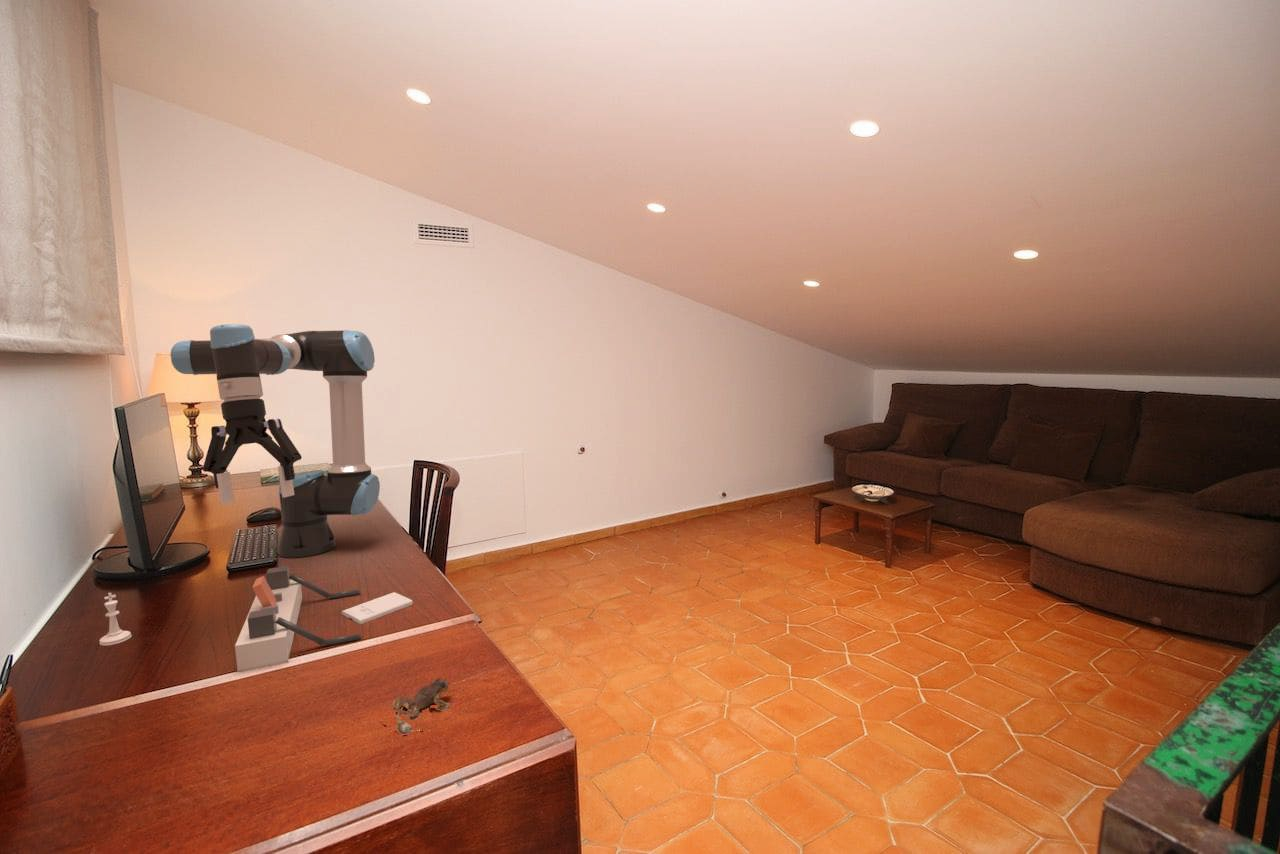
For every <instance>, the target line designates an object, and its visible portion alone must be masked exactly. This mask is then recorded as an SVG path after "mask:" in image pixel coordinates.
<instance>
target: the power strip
mask: <svg viewBox="0 0 1280 854" xmlns="http://www.w3.org/2000/svg"><path fill="white" fill-rule="evenodd" d="M289 568H290V567H289V565H286V566H280V567H279V566H278V567H273V568H272V567H271V568H268V569H267V571H266V581H267V583H268V585H269V586H270V588H271V590H272V592H273V594H274V596H275V598H276V603H275V605H273V606H267V607H262V605H261V603H260V601H259V599H258V597H257V595H256V594H255V596H254V597H255V598H254V600H253V601H252V604H251V607H250V609H249V611H248V613H247V615H246V619H245V622H244V624H243V626H242V628H241V630H240V633H239V635H238V638H237V641H236V642H235V644H234V653H235V660H236V670H237V672H243V671H248V670H252V669H258V668H262V667H266V666H271V665H277V664H282V663H287V662H289V660H290V654H291V650H292V645H293V641H294V637H295V636H294V635H295V634H297V635H299V636H302V637H304V638H306V639H307V640H310V641H311V642H313V643H316V644H318V645H320V646H323V645H324V647H327V646H333V645H338V644H343V643H348V642H353V641H358V640H360V639H361V638H362V634H361V633H353V634H348V635H344V636H343V635H342V636H339V637H332V638H328V639H325V638H323V637H320V636H319V635H317V634H315V633H313V632H311V631H309V630H306V629H305V628H303V627H300V626H299V625H297V623H298V619H299V615H300V610H301V606H302V601H303V594H302V593H303V592H302V586H303V587H305V588H307V589H308V590H310V591H312V592H314V593H317V594H318V595H320V596H322V597H324V598H326V599H328V598H329V599H330V600H333V599H338V598H339V599H340V598H344V597H350V596H357V595H359V594H360V593H361V589H358V588H357V589H351V590H346V591H339V592H334V593H330V592H328V591H326V590H324V589H323V588H320V587H319V586H317V585H315V584H313V583H312V582H310V581H308V580H306V579H304V578H302V577H300V576H298V575H296V574H294V573H293V572H292V573H291V574H290V569H289Z"/></svg>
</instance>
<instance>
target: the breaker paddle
mask: <svg viewBox="0 0 1280 854" xmlns="http://www.w3.org/2000/svg"><path fill="white" fill-rule="evenodd" d="M251 588H252V590H253V591H254V593H255V596H256V595H257V597H258V599H259V601H260V603H261V605H262V607H267V606H273V605H275V603H276V598H275V596H274V594H273V592H272V590H271V588H270V586H269V585H268V583H267V578H266V577H265V576H264V575H263V576H260V577H258V578H256V579H255V581H254V583H253V586H252V587H251Z"/></svg>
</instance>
